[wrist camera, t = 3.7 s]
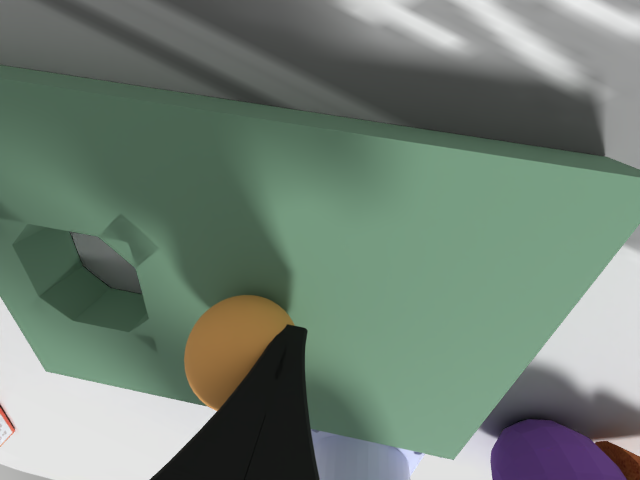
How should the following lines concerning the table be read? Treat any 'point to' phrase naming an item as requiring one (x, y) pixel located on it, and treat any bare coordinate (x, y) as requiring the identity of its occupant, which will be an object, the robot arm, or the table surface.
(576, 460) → the kendama
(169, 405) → the table surface
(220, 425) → the robot arm
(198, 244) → the putting mat
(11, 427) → the cracker box
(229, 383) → the ball
